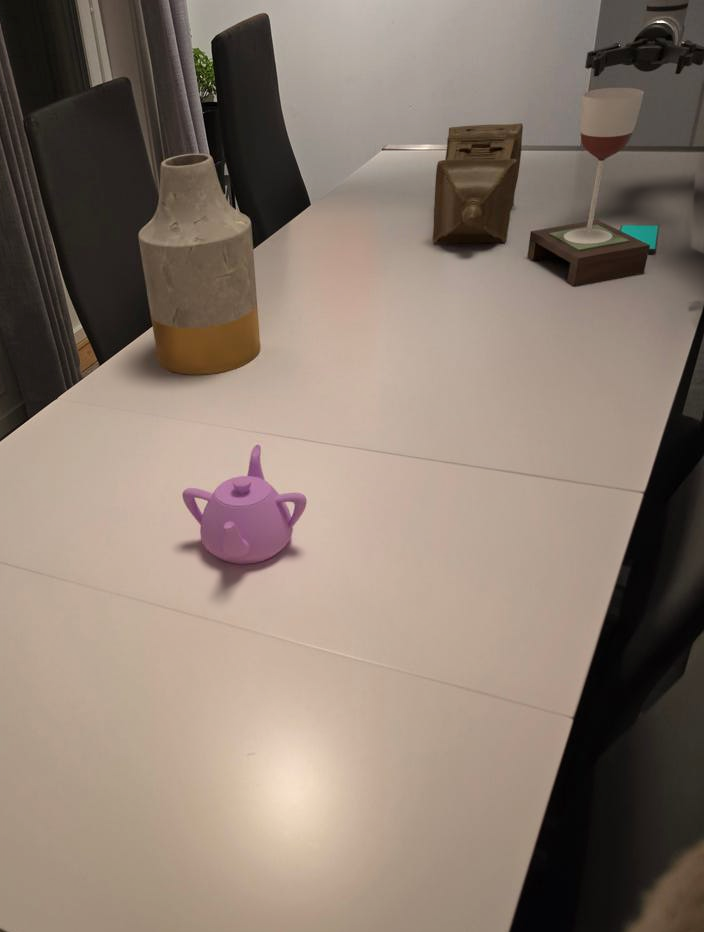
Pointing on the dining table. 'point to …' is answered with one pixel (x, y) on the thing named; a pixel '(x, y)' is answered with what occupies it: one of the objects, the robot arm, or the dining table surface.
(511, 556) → the dining table surface
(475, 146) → the ornamental box
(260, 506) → the teapot
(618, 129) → the wineglass
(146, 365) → the dining table surface
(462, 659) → the dining table surface
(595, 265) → the shelf
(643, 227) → the smartphone
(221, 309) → the vase
